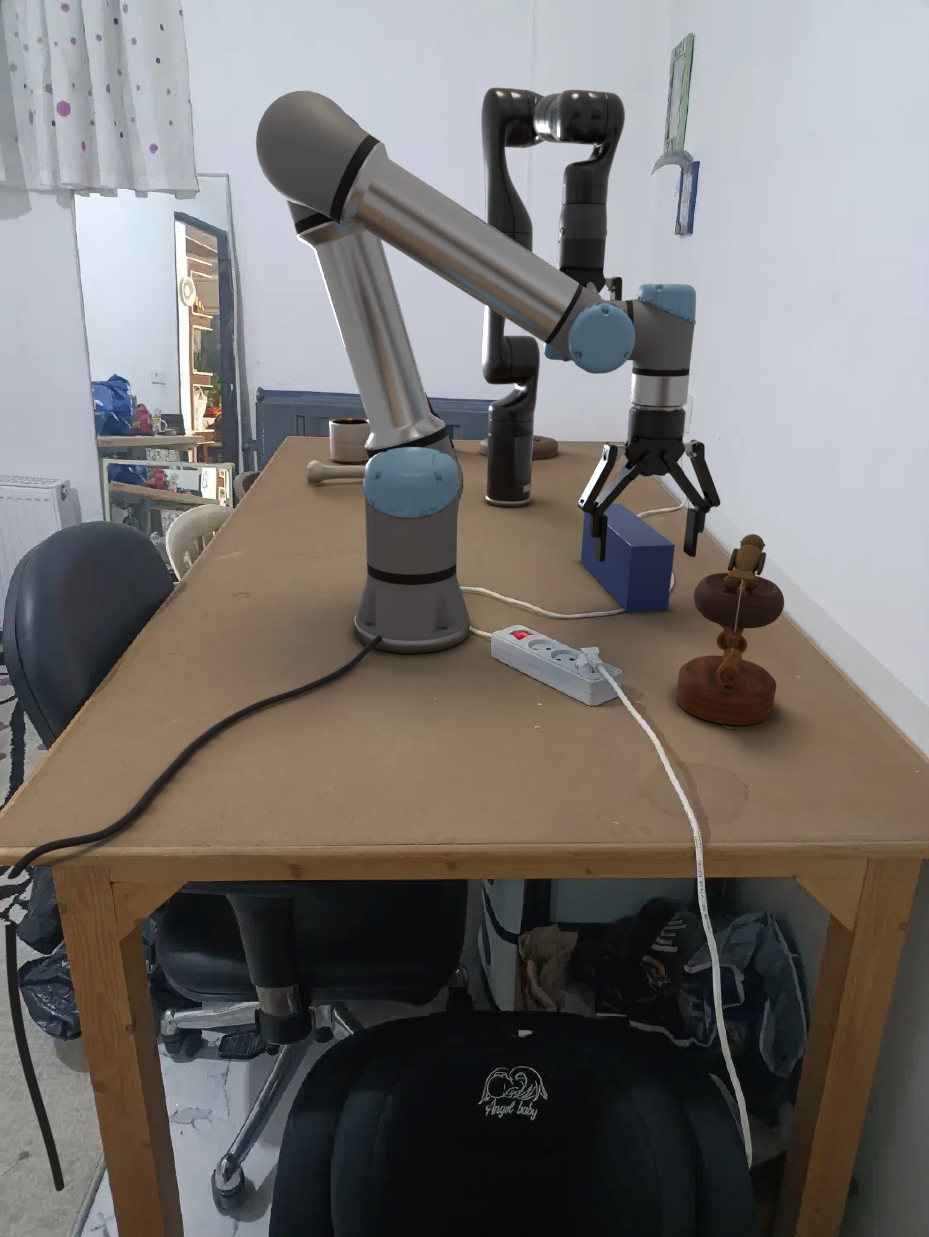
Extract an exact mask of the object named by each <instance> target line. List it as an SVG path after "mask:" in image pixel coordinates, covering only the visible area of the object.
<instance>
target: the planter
mask: <svg viewBox="0 0 929 1237" xmlns="http://www.w3.org/2000/svg"><path fill="white" fill-rule="evenodd" d="M328 424H329V425H328V426H329V453H330V454H329V455H330V456H329V457H330V459H331V460H332V461H333V462H335V463H341V464H363V463H368V461H369V458H368V455H367V452H366V449H365V444H366V442H367V440H368V439H369V437H370V435H371V428H370V425H369V422H368V419H367V418H362V417H361V418H360V417H342V418H341V417H340V418H335V419H334V418H333V419H331V420H329V421H328Z"/></svg>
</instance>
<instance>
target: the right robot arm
mask: <svg viewBox="0 0 929 1237" xmlns="http://www.w3.org/2000/svg"><path fill="white" fill-rule="evenodd" d="M481 105H482V106H481V115H480V116H481V117H480V118H481V119H480V126H481V127H480V129H481V130H480V131H481V144H482V145H481V147H482V160H483V175H484V221H485V222H486V223H488V224H489V225H491V226H492V227H494V228H495V229H497V230H498V231H500V232H502V233H503V234H505V235H506V236H508V237H509V238H511V239H512V240H514V241H515V242H517V243H518V244H520V245H521V246H523V247H524V248H526V249H527V250H529V251H531V252H532V253H534V252H533V250H534V228H533V227H534V226H533V221H532V219H531V218H532V217H531V216H530V214H529V211H528V209H527V207H526V205H525V204H524V201H523V199H522V198H521V196H520V194H519V192H518V191H517V189H516V187H515V185H514V183H513V180H512V178H511V176H510V171H509V168H508V163H507V162H508V161H507V157H506V156H507V155H506V148H510V149H511V148H513V149H527V148H532V147H534V146H538V145H539V144H542V143H544V142H548V143H552V144H573V145H586V146H587V145H589V146H590V145H591V146H593V148H592V151H591V153H590V156H589V157H588V159H585V160H580V161H574V162H571V163H568V164H567V165H566V166H565V168H564V170H563V177H562V178H563V179H562V194H561V195H562V196H561V210H560V216H559V222H558V239H557V242H558V243H557V258H556V269H558V270H560V271H561V272H563V273H564V274H566V275H567V276H569V277H570V278H572V279H573V280H575V281H576V282H578V283H579V284H580V285H581V286H583V287H585V288H587V289H588V290H590V291H591V292H593V293H595V294H596V295H598V296H599V297H601V295H600V293H601V292H602V290H603V289H604V288H605V286H606V290H607V291H608V292H609V300H611V301H623V278H622V277H621V276H612V277H605V274H604V269H605V256H606V254H605V253H606V245H607V244H606V243H607V236H608V212H607V210H608V208H607V207H608V196H609V195H608V194H609V180H610V174H611V171H612V167H613V163H614V159H615V156H616V152H617V148H618V145H619V143H620V140H621V137H622V135H623V131H624V127H625V122H626V109H625V105H624V102H623V100H622V99H621V97H620V96H619V95H618V94H616V93H614V92H609V91H597V90H587V89H566V90H563V91H562V92H556V93H551V94H548V95H546V96H544V95H542V94H540V93H537V92H536V91H532V90H530V89H523V88H522V89H521V88H510V87H508V88H507V87H490V88H489V89H488V90H487V91H486V92H485V94H484V96H483V100H482V104H481ZM601 298H602V297H601ZM483 315H484V316H483V329H482V330H483V331H482V343H481V344H482V345H481V369H482V374H483V378H484V380H485V382H486V383H488V384H489V385H495V386H496V385H514V386H513V389H512V391H511V392H509V393H508V394H507V395H506V396H504V397H501V398H500V399H498V400H494V401H493V402H492V403H490V404H489V406H488V416H487V417H488V419H487V420H488V424H487V435H488V436H487V438H488V456H487V458H486V459H487V461H486V462H487V467H486V495H485V502H486V503H488V504H489V505H493V506H497V507H510V508H511V507H512V508H513V507H522V506H528V505H529V504H530V503H531V501H532V500H531V498H532V497H531V491H532V489H533V483H532V470H533V459H532V451H533V435H534V427H535V426H534V424H535V411H536V406H537V400H538V399H537V398H538V386H539V385H538V384H539V376H540V367H541V366H540V365H541V352H540V346H539V342H538V341H537V339H536V337H535V336H533V335H532V336H531V335H505V326H506V320H507V318H505V317H503V316H502V315H500V314H499V313H497V312H495V311H494V310H492V309H491V308H489V307H488V306H486V305H484V314H483Z"/></svg>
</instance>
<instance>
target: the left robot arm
mask: <svg viewBox="0 0 929 1237" xmlns="http://www.w3.org/2000/svg"><path fill="white" fill-rule="evenodd" d="M255 148H256V149H255V150H256V157H257V161H258V164H259V167H260V169H261V173H262V174H263V176H264V177H265V179H266V181H267V183H268V184H269V185H270V187H272V189H273V190H274V191H275V192H276V193H278V194H279V196H281V197H282V198H284V199H285V201H286V204H287V207H288V210H289V213H290V216H291V220H292V223H293V226H294V229H295V233H296V235H297V238H298V240H299V241H301V242H303V243H304V244H306V245H308V246H309V247H311V248H312V249H313V250H314V253H315V256H316V259H317V263H318V265H319V268H320V273H321V274H322V279H323V281H324V284H325V288H326V291H327V294H328V298H329V300H330V304H331V307H332V310H333V313H334V316H335V319H336V323H337V326H338V329H339V332H340V335H341V338H342V342H343V345H344V349H345V351H346V354H347V357H348V361H349V364H350V368H351V371H352V374H353V377H354V380H355V383H356V386H357V389H358V393H359V396H360V399H361V403H362V405H363V409H364V412H365V416H366V419H368V422H369V425H370V428H371V435H370V437H369V439H368V440H367V442H366V444H365V449H366V452H367V455H368V458H369V461H368V462H366V465H365V466H366V468H365V477H364V478H363V481H362V490H363V493H364V506H365V507H364V509H365V510H364V511H365V541H366V542H365V543H366V544H365V545H366V547H365V548H366V579H365V584H364V586H363V589H362V592H361V596H360V600H359V602H358V606H357V609H356V612H355V615H354V633H355V636H356V638H357V639H358V640H359V641H360V642H362V643H363V644H365V645H366V646H365V647H364V648H362V650H361V651H360V652H359V653H357V655H355V656H354V658H353V659H351V660H350V661H349V662H347V663H345V664H344V665H343V666H341V667H340V668H338V669H336V670H334V671H332V672H331V673H329V674H327V675H326V676H322V677H321V678H318V679H317V680H313V681H312V682H309V683H307V684H305V685H302V686H300V687H297V688H295V689H292V690H288V691H285V692H282V693H279V694H276V695H273V696H269V697H267V698H265V699H262V700H259V701H257V702H254V703H252V704H250V705H248V706H246V707H244V708H242V709H240V710H238V711H236V712H234V713H232V714H230V715H229V716H227V717H226V718H223V719H222V720H220V721H219V722H217V723H216V724H214V725H212V726H211V727H210V728H208V729H207V730H206V731H205V732H203V733H201V735H199V736H198V737H197V738H195V739H194V740H193V741H191V743H189V745H187V746H186V747H185V748H184V749H183V750H182V751H181V752H180V753H179V755H178V756H177V757H175V759H174V760H173V761H172V763H171V764H169V766H168V767H167V768H166V769H165V770H164V771H163V772H162V773H161V774H160V775H159V777H157V778H156V779H155V781H153V783H152V784H151V785H150V786H149V788H147V790H146V791H145V792H144V794H143V795H142V796H141V797H140V799H139V800H138V801H137V803H135V804H134V806H133V807H132V808H131V809H130V810H129V811H128V812H127V813H126V814H124V816H122V817H121V818H119V819H118V820H117V821H115V822H114V823H112V824H111V825H108V826H107V827H105V828H103V829H100V830H99V831H96V832H92V833H88V834H83V835H78V836H72V837H66V838H61V839H57V840H53V841H49V842H47V843H44V844H42V845H39V846H37V847H35V848H33V849H32V850H30V851H29V852H28V853H26V854H25V855H24V856H23V857H21V858H20V860H18V861H17V862H16V864H15V865H14V866H13V867H12V869H11V871H10V872H9V874H8V876H7V880H14V879H16V878H18V877H20V876H21V874H22V873H23V872H24V870H25V869H26V868H27V867H28V866H29V865H30V864H31V863H32V862H34V861H35V860H36V859H38V858H39V857H41V856H43V855H45V854H48V853H51V852H54V851H58V850H61V849H66V848H72V847H77V846H82V845H88V844H93V843H95V842H98V841H101V840H105V839H107V838H109V837H111V836H112V835H115V834H116V833H117V832H120V831H121V830H122V829H124V828H125V827H126V826H128V825H129V824H130V823H131V822H133V821H134V820H135V819H136V818H137V817H138V816H139V815H140V814H141V813H142V812H143V811H144V809H145V808H146V807H147V806H148V804H149V803H150V801H151V800H152V798H153V797H154V796H155V795H156V794H157V793H158V791H159V790H160V789H161V787H163V786H164V784H165V783H166V782H167V781H168V780H169V779H171V777H173V775H174V774H175V773H176V771H177V770H178V769H179V768H180V767H181V765H183V763H184V762H185V761H186V760H187V759H188V758H189V757H190V756H191V755H192V754H193V753H194V752H195V751H196V750H197V749H198V748H199V747H201V745H203V744H204V743H205V742H207V741H208V740H209V739H210V738H211V737H213V736H215V735H216V734H217V733H218V732H220V731H222V730H223V729H224V728H226V727H227V726H229V725H230V724H232V723H234V722H236V721H237V720H239V719H241V718H243V717H245V716H247V715H249V714H251V713H253V712H256V711H257V710H261V709H262V708H264V707H267V706H270V705H272V704H276V703H279V702H281V701H285V700H287V699H291V698H294V697H297V696H299V695H302V694H304V693H307V692H309V691H311V690H314V689H316V688H318V687H321V686H323V685H325V684H327V683H329V682H331V681H333V680H336V679H337V678H338V677H340V676H343V675H344V674H345V673H347V672H348V671H349V670H351V669H353V668H354V667H355V666H356V665H357V664H358V663H360V662H361V661H362V660H363V659H364V658H365V657H366V656H367V655H368V654H369V652H371V651H372V650H373V649H377V650H380V651H384V652H390V653H396V654H397V653H398V654H425V653H433V652H439V651H443V650H446V649H449V648H452V647H455V646H457V645H458V644H460V643H462V642H463V641H464V640H466V639H467V637H468V636H469V634H470V615H469V612H468V608H467V606H466V601H465V599H464V596H463V593H462V589H461V586H460V583H459V581H458V577H457V561H458V560H457V559H458V558H457V557H458V556H457V554H458V514H459V507H460V501H461V498H462V494H463V491H464V482H465V480H464V471H463V468H462V465H461V461H460V460H459V459H458V456H457V455H456V454H455V452H454V449H452V446H451V442H450V439H449V436H450V435H449V433H448V429H447V425H446V423H445V421H444V420H442V419H441V418H440V419H439V418H437V417H435V416H434V415H432V413H431V412H430V409H429V405H428V402H427V398H426V395H425V392H426V391H425V388H424V385H423V381H422V377H421V373H420V370H419V366H418V364H417V359H416V356H415V353H414V349H413V345H412V342H411V339H410V335H409V331H408V328H407V325H406V321H405V319H404V318H405V317H404V314H403V311H402V307H401V305H400V301H399V297H398V293H397V289H396V287H395V283H394V280H393V276H392V273H391V269H390V265H389V262H388V258H387V255H386V251H385V248H384V245H383V242H384V243H386V244H387V245H389V246H391V247H393V248H394V249H396V250H397V251H398V252H400V253H401V254H404V255H405V256H407V257H408V258H410V259H411V260H413V261H415V262H416V263H417V264H420V265H421V266H423V268H426V269H427V270H428V271H430V272H432V273H433V274H435V275H437V276H438V277H440V278H442V279H443V280H444V281H446V282H448V283H450V284H451V285H452V286H453V287H456V288H457V289H459V290H461V291H462V292H463V293H465V294H468V295H469V296H470V297H471V298H473V299H475V300H476V301H478V302H480V303H481V304H483V305H484V306H485V305H486V306H488V307H489V308H491V309H492V310H494V311H495V312H497V313H499V314H500V315H502V316H503V317H505V318H506V320H508V321H510V322H511V323H513V324H514V325H516V326H518V327H519V328H520V329H523V331H526V332H528V334H530V335H532V337H534V338H537V339H538V340H539V341H541V342H543V354H544V356H545V358H546V359H548V360H551V361H563V362H565V363H567V362H571V361H572V362H573V363H574V364H575V365H576V366H577V367H578V368H580V369H582V370H583V371H585V372H587V373H589V374H593V375H594V374H595V375H598V374H603V375H604V374H608V373H612V372H614V371H616V370H618V369H620V368H621V367H622V366H623V365H625V363H626V362H627V361H632V367H631V368H632V370H631V381H630V396H629V397H630V398H629V399H630V400H629V402H630V403H631V405H633V406H631V407H630V408H629V409H628V418H627V419H628V421H627V422H628V423H627V438H626V442H625V444H615V443H612V442H610V441H606V442H605V443H604V444H603V449H602V454H601V458H600V461H599V463H597V466H596V468H595V470H594V472H593V473H592V476H591V477H590V479H589V481H588V483H587V485H586V487H585V489H584V491H583V492H582V494H581V496H580V498H579V500H578V501H577V507H578V508H579V510H581V511H582V512H583V513H584V512H586V513H590V528H589V532H590V535H591V536H592V537H593V538H595V549H594V556H595V557H596V558H597V559H598V560H599V561H600V562H604V561H605V552H606V537H607V522H608V517H607V516H606V515H605V514H604V512H605V511H606V510H607V508H608V507H609V506H610V505H611V504H614V502H615V501H616V499H617V498H618V497H619V496H620V495H621V494H622V493H623V491H624V490H625V489H626V488H627V487H628V486H629V485H630V484H631V482H633V481H634V480H636V479H637V478H638V476H642V477H651V476H654V475H655V476H658V477H665V476H666V475H667V474H669V475H670V476H671V478H672V479H673V480H674V482H675V483H676V485H677V486H678V487H679V489H680V490H681V491H682V493H683V494H684V495H685V496H686V498H687V499H688V501H689V502H690V504H692V505H693V507H688V508H687V509H686V510H687V511H686V512H687V513H686V521H685V522H686V523H685V531H684V540H683V550H682V551H683V553H685V555H688V557H690V558H697V548H698V547H697V546H698V537H699V534H703V532H704V530H705V525H706V516H707V514H709V513H710V511H711V509H712V508H718V507H720V506H721V498H720V496H719V492H718V490H717V488H716V485H715V482H714V480H713V477H712V475H711V472H710V469H709V466H708V464H707V461H706V452H705V451H706V449H705V448H706V446H705V444H704V442H701V441H699V440H697V439H691V440H690V441H689V442H684V439H683V438H684V434H685V425H686V414H687V412H686V410H685V409H684V408H683V407H684V406H685V405H687V403H688V396H689V384H690V368H691V360H692V350H693V343H694V342H693V341H694V334H695V333H694V332H695V326H696V324H697V321H696V312H697V311H696V310H697V309H696V308H697V291H696V290H695V288H694V287H693V286H692V285H690V284H688V283H642V284H641V285H640V286H639V288H638V290H637V294H636V295H635V299H625V300H622V301H611V300H610V299H609V300H606V299H604V298H603V297H599V296H598V295H596V294H595V293H593V292H591V291H590V290H588V289H587V288H585V287H583V286H581V285H580V284H579V283H578V282H576V281H575V280H573V279H572V278H570V277H569V276H567V275H566V274H564V273H563V272H561V271H560V270H558V269H557V267H555V266H553V265H552V264H550V263H549V262H547V261H546V260H544V259H543V258H541V257H540V256H539V255H537V254H535V253H534V252H531V251H529V250H527V249H526V248H524V247H523V246H521V245H520V244H518V243H517V242H515V241H514V240H512V239H511V238H509V237H508V236H506V235H505V234H503V233H502V232H500V231H498V230H497V229H495V228H494V227H492V226H491V225H489V224H488V223H486V222H485V220H484V219H482V218H480V217H478V215H476V214H474V213H472V212H471V211H469V210H468V209H466V208H465V207H464V206H462V205H460V204H459V203H457V202H456V201H455V200H453V199H451V198H450V197H448V196H447V195H445V194H444V193H442V192H440V191H439V190H437V189H436V188H435V187H434V186H432V185H430V184H429V183H427V182H425V181H424V180H422V179H421V178H420V177H417V176H416V175H415V174H414V173H411V172H410V171H408V169H405V168H404V167H402V166H401V165H399V164H398V163H396V162H395V161H393V160H392V159H390V157H389V156H388V152H387V148H386V145H385V143H384V142H382V141H381V140H379V139H378V138H376V137H374V136H373V134H371V133H369V132H368V131H366V130H365V129H364V128H362V127H361V125H360V124H359V123H358V122H357V121H356V120H355V119H354V118H352V117H351V116H350V115H349V114H347V113H346V112H345V111H344V110H343V109H342V107H341V106H340V105H338V104H337V103H336V102H335V101H334V100H332V99H331V98H329V97H327V96H326V95H323V94H321V93H319V92H315V91H310V90H296V91H291V92H287V93H285V94H284V95H282V96H279V97H278V98H276V99H275V100H274V101H273V102H272V103H270V105H268V107H267V108H266V109H265V111H264V113H263V115H262V117H261V118H260V121H259V123H258V127H257V131H256V138H255ZM382 241H383V242H382ZM684 454H686V456H687V457H688V458H689V460H690V463H691V465H692V469H693V471H694V474H695V477H696V479H697V481H698V484H699V487H700V489H701V492H702V495H703V497H704V498H703V497H702V495H701V494H700V493H699V491H698V490H697V489H696V487H695V485H694V484H693V483H692V482H691V481H690V479H689V478H688V476H687V475H686V473H685V471H684V470H683V468H682V467H681V466H680V464H679V463H678V462H679V460H680V459H681V458H682V457H683V455H684ZM623 455H624V456H625V458H626V460H627V461H626V462H624V464H623V465H622V466H621V468H620V470H619V472H618V473H617V474H616V475H615V476H614V478H613V479H612V480H611V481H610V482H609V483H608V485H607V486H606V487H605V488H604V486H605V484H606V482H607V480H608V479H609V476H610V474H611V473H612V472H613V470H614V467H615V465H616V462H617V461H619V460H620V459H621V456H623ZM603 488H604V489H603ZM601 491H602V492H601ZM4 931H5V932H4V933H5V962H6V963H5V966H6V977H7V990H8V991H7V992H8V998H9V1006H10V1014H11V1020H12V1026H13V1032H14V1038H15V1041H16V1046H17V1051H18V1055H19V1059H20V1062H21V1067H22V1071H23V1074H24V1078H25V1082H26V1085H27V1088H28V1092H29V1095H30V1098H31V1102H32V1105H33V1108H34V1112H35V1115H36V1120H37V1122H38V1125H39V1129H40V1132H41V1136H42V1139H43V1142H44V1146H45V1150H46V1154H47V1158H48V1161H49V1166H50V1170H51V1176H52V1180H53V1185H54V1189H55V1191H56V1192H61V1191H63V1190H64V1189H65V1181H64V1176H63V1171H62V1167H61V1163H60V1159H59V1154H58V1150H57V1146H56V1142H55V1139H54V1134H53V1131H52V1128H51V1124H50V1121H49V1117H48V1114H47V1110H46V1107H45V1104H44V1100H43V1096H42V1093H41V1089H40V1086H39V1083H38V1079H37V1075H36V1072H35V1068H34V1064H33V1060H32V1056H31V1052H30V1048H29V1043H28V1038H27V1034H26V1029H25V1023H24V1017H23V1010H22V1002H21V994H20V984H19V972H18V971H19V970H18V956H17V955H18V951H17V950H18V949H17V948H18V947H17V923H16V922H14V923H7V924H5V925H4Z"/></svg>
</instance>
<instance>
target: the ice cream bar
mask: <svg viewBox="0 0 929 1237" xmlns="http://www.w3.org/2000/svg"><path fill="white" fill-rule="evenodd" d="M479 453H480V454H482V455H483V456H484V455H485V456H487V457H488V437H485V438H483V439H482V440H480V442H479ZM558 454H559V443H558V441H557V439H555V438H553V437H547V436H542V435H537V434H533V451H532V460H540V459H541V460H542V459H548V458H549V459H550V458H553V457H556V456H558Z"/></svg>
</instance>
